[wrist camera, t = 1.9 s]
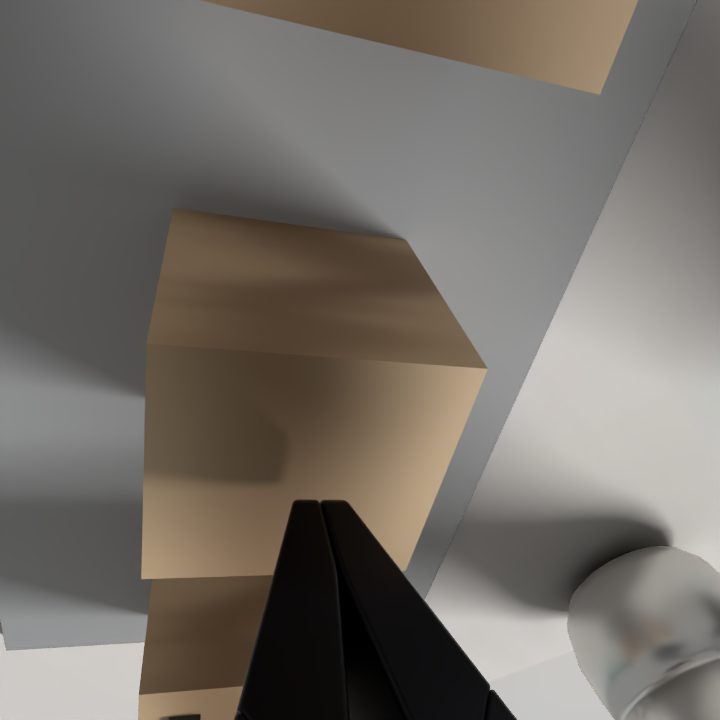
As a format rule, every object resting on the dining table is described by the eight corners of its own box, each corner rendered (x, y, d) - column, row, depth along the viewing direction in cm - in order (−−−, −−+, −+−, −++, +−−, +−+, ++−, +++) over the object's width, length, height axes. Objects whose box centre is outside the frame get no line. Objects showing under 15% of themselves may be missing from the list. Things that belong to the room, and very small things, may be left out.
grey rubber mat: (839, -360, 9) (867, -374, 9) (409, 614, 23) (412, 626, 22) (-300, -1008, 5) (-343, -1088, 5) (10, 635, 19) (6, 650, 19)
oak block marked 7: (331, 512, 18) (364, 684, 14) (304, 609, 20) (325, 777, 16) (159, 512, 16) (137, 704, 12) (155, 615, 19) (136, 802, 15)
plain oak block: (406, 240, 13) (487, 369, 9) (359, 411, 16) (405, 570, 12) (173, 208, 12) (145, 343, 8) (164, 402, 14) (141, 578, 10)
